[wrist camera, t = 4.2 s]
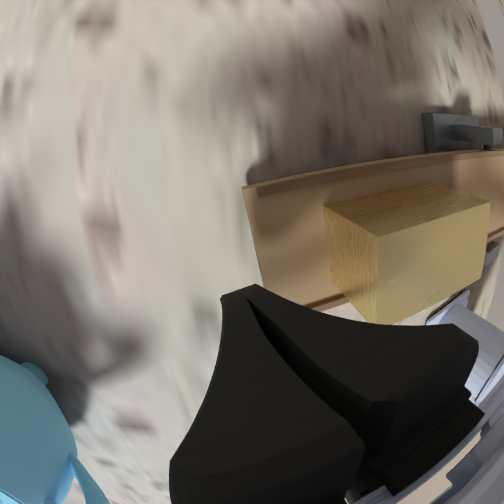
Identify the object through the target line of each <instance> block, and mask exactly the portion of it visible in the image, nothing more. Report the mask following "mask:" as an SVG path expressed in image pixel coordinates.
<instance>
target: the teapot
mask: <svg viewBox="0 0 504 504" xmlns="http://www.w3.org/2000/svg"><path fill="white" fill-rule="evenodd" d="M47 383H48V378H47V376H46V374H45V372H44V371H43V370H42V369H41V368H40V367H38V366H37V365H35V364H33V363H30V362H23V363H22V364H21V365H20V364H18V363H16V362H14V361H12V360H10V359H8V358H6V357H3V356H1V355H0V504H63V502H64V501H65V499H66V497H67V495H68V492H69V490H70V487H71V484H72V481H73V477H74V475H75V477H76V479H77V481H78V483H79V485H80V487H81V490H82V492H83V495H84V497H85V500H86V504H110V503H109V501H108V499H107V498H106V496H105V495H104V493H103V492H102V490H101V489H100V487H99V486H98V485H97V483H96V482H95V481H94V480H93V478H92V477H91V476H90V474H89V473H88V472H87V470H86V469H85V468H84V466H83V465H82V464H81V463H80V461H79V460H78V459H77V448H76V444H75V440H74V437H73V434H72V432H71V430H70V427H69V425H68V423H67V421H66V419H65V417H64V415H63V414H62V412H61V410H60V408H59V406H58V405H57V403H56V401H55V400H54V398H53V396H52V395H51V393H50V392H49V391H48V389H47V388H46V384H47Z"/></svg>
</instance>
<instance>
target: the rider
mask: <svg viewBox="0 0 504 504" xmlns="http://www.w3.org/2000/svg"><path fill="white" fill-rule="evenodd" d="M323 210H324V218H325V226H326V235H327V244H328V254H329V264H330V275H331V281H332V282H333V284H334V285H335V286H336V287H337V288H338V289H339V290H340V291H341V293H342V294H343V295H344V296H345V297H346V298H347V299H348V300H349V302H350V303H351V304H352V305H353V306H354V307H355V308H356V310H357V311H358V312H359V313H360V314H361V315H362V317H363V318H364V319H365V320H366V321H367V322H368V323H375V324H384V325H392V324H394V323H397V322H399V321H401V320H403V319H405V318H407V317H409V316H412V315H414V314H416V313H418V312H420V311H422V310H424V309H426V308H428V307H430V306H432V305H434V304H436V303H438V302H439V301H441V300H443V299H445V298H447V297H449V296H451V295H452V294H454V293H456V292H458V291H460V290H461V289H463V288H465V287H467V286H468V285H470V284H472V283H473V282H475V281H477V280H478V279H480V278H481V275H482V269H483V264H484V258H485V252H486V245H487V237H488V228H489V217H490V201H487V200H484V199H482V198H479V197H476V196H473V195H470V194H467V193H464V192H461V191H458V190H454V189H451V188H448V187H444V186H441V185H438V184H434V183H431V182H429V183H424V184H419V185H414V186H409V187H404V188H400V189H395V190H390V191H385V192H381V193H376V194H372V195H367V196H363V197H358V198H354V199H349V200H345V201H340V202H336V203H332V204H328V205H323Z"/></svg>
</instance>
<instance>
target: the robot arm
mask: <svg viewBox="0 0 504 504" xmlns="http://www.w3.org/2000/svg"><path fill="white" fill-rule="evenodd" d="M469 295H470V290H468V289H467V290H465V291H464V292H463V293H462V294H461V295H459V296H458V297H457V298H456V299H454V300H453V301H452V302H451V303H449V304H448V305H447V306H445V307H444V308H443V309H442V310H440V311H439V312H438V313H436V314H435V315H433V316H432V317H431V318H429V319H428V321H427V323H426V325H422V326H403V325H384V324H375V323H367V322H360V321H355V320H349V319H345V318H341V317H337V316H333V315H329V314H325V313H322V312H319V311H316V310H313V309H310V308H307V307H305V306H302V305H300V304H297V303H295V302H292V301H290V300H288V299H285V298H283V297H281V296H279V295H277V294H275V293H273V292H271V291H269V290H267V289H265V288H263V287H261V286H259V285H257V284H254V285H251V286H248V287H245V288H242V289H239V290H236V291H233V292H231V293H228V294H225V295H222V297H221V298H220V301H221V304H222V333H221V340H220V346H219V352H218V357H217V361H216V365H215V369H214V372H213V376H212V379H211V381H210V384H209V387H208V390H207V393H206V395H205V398H204V400H203V403H202V405H201V407H200V409H199V411H198V413H197V415H196V417H195V419H194V422H193V424H192V426H191V427H190V429H189V431H188V433H187V434H186V436H185V438H184V439H183V441H182V443H181V444H180V446H179V447H178V449H177V451H176V452H175V454H174V455H173V457H172V458H171V460H170V466H169V491H170V499H171V503H172V504H347V503H346V501H345V500H344V499H345V497H346V499H347V501H348V503H349V504H396V503H398V502H399V501H401V500H402V499H403V498H405V497H406V496H408V495H409V494H411V493H412V492H413V491H415V490H416V489H417V488H418V487H420V486H421V485H422V484H424V483H425V482H426V481H428V480H429V479H430V478H431V477H432V476H434V475H435V474H436V473H437V472H438V471H440V470H441V469H442V468H443V467H444V466H445V465H446V464H447V463H449V462H450V461H451V460H452V459H453V458H454V457H455V456H456V455H457V454H458V453H459V452H460V451H461V450H462V449H463V448H464V447H465V446H466V445H467V444H468V443H469V442H470V441H471V440H472V439H473V438H474V437H475V436H476V435H477V434H478V433H479V431H480V435H481V439H480V441H479V442H478V443H477V444H476V445H475V446H474V447H473V448H472V449H471V450H470V452H469V453H468V454H467V455H466V456H465V457H464V458H463V459H462V460H461V461H460V462H459V463H458V464H457V465H456V466H455V467H454V468H453V469H452V470H451V471H450V472H448V473H447V474H446V477H447V479H448V480H449V481H450V482H451V483H452V485H451V486H450V487H449V488H447V489H446V490H445V491H444V492H443V493H442V494H440V495H439V496H438V497H437V498H436V499H434V500H433V501H432V502H430V503H429V504H504V332H503V331H502V330H500V329H499V328H497V327H496V326H494V325H492V324H491V323H490V322H488V321H486V320H485V319H483V318H482V317H480V316H479V315H477V314H475V313H474V312H472V311H471V310H469V309H467V304H468V299H469Z"/></svg>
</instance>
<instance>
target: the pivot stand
mask: <svg viewBox="0 0 504 504" xmlns="http://www.w3.org/2000/svg"><path fill="white" fill-rule="evenodd" d="M422 118H423V125H424V133H425V141H426V151H427V154H430V153H440V152H450V151H462V150H475V149H481V144H488V145H504V140H503V129H502V128H494V127H485V126H479V120H478V116H469V115H457V114H440V113H422ZM498 249H499V244H498V243H496V242H494V241H490V242H488V243H487V245H486V252H485V258H484V264H483V266H485V267H487V266H488V265H489V264H490V263H491V262H493V261H494V260H495V259H496V258H497V255H498Z"/></svg>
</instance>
